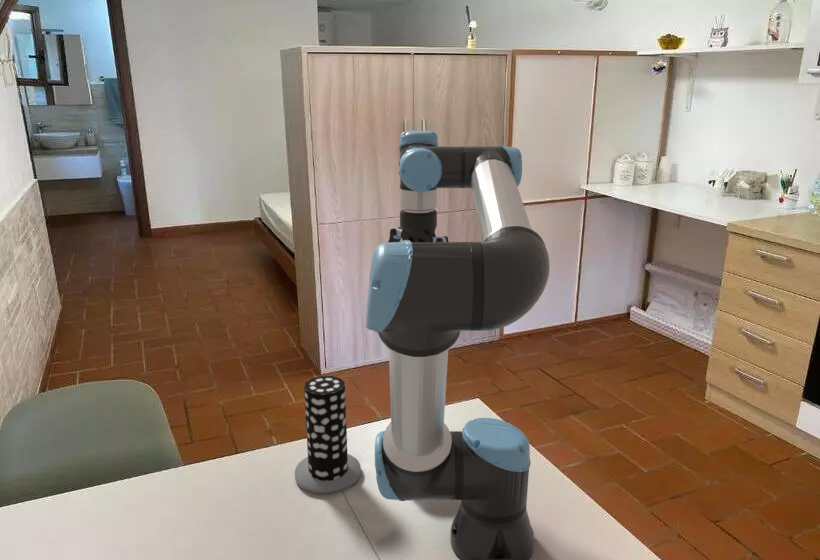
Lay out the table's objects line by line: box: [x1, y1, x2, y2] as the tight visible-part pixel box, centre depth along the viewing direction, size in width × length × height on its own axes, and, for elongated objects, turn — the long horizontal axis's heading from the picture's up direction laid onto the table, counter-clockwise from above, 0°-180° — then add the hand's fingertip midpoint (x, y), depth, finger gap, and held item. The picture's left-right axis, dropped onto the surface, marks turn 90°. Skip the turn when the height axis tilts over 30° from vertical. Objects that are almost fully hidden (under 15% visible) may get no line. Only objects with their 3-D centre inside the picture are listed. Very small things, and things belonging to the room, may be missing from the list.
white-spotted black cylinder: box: [303, 375, 348, 481], centre depth 132 cm, size 8×8×20 cm
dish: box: [294, 453, 362, 494], centre depth 135 cm, size 14×14×2 cm
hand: (418, 307), depth 134 cm, fingers open, 13 cm apart
